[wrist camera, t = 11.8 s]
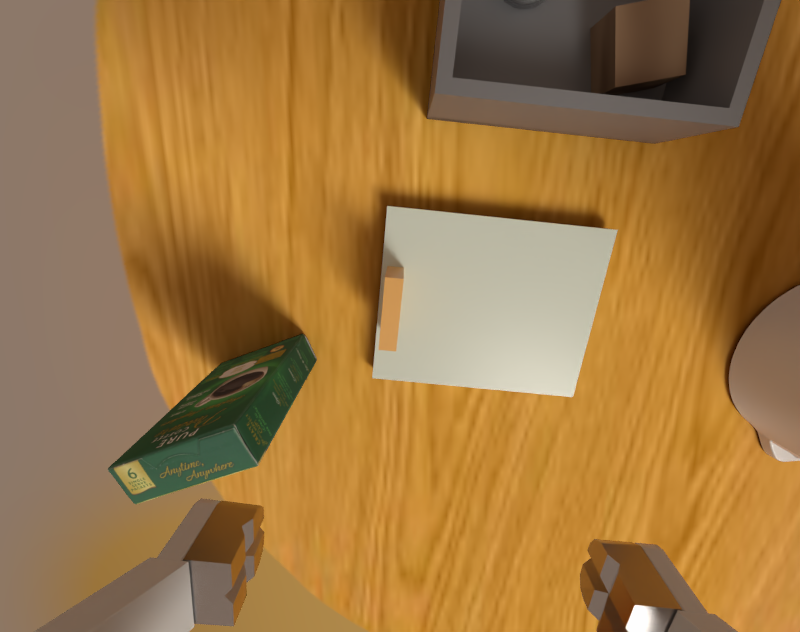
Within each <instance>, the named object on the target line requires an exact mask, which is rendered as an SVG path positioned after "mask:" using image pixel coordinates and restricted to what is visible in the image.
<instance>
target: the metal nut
mask: <svg viewBox="0 0 800 632" xmlns="http://www.w3.org/2000/svg"><path fill="white" fill-rule="evenodd" d="M504 1H505V2H506V3H507V4H508V5H510V6H512V7H514V8H517V9H530V8H533V7H536V6H538V5H539V4H541V3H542V2H544V1H545V0H504Z"/></svg>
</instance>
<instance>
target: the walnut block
mask: <svg viewBox="0 0 800 632" xmlns="http://www.w3.org/2000/svg"><path fill="white" fill-rule="evenodd" d="M689 8H690V0H645V1H640V2H635V3H630V4H625V5H620V6H615V7H614V8H613V9H612V10H611V11H610V12H609V13H607V14H606V15H605V16H604V17H603V18H602V19H601V20H600V21H598V22H597V23H596V24H595V25H594V26H593V27H592V28H591V29H590V39H591V93H597V94H606V95H619V94H624V93H630V92H635V91H641V90H646V89H652V88H655V87H657V86H660V85H662V84H665V83H667V82H669V81H672V80H674V79H676V78H679V77H681V76H683V75H686V63H687V44H688V26H689Z"/></svg>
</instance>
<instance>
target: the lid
mask: <svg viewBox="0 0 800 632" xmlns="http://www.w3.org/2000/svg"><path fill="white" fill-rule="evenodd" d="M616 234H617V230H614V229H607V228H597V227H588V226H578V225H569V224H559V223H549V222H540V221H530V220H521V219H511V218H502V217H492V216H482V215H473V214H463V213H454V212H444V211H434V210H425V209H415V208H406V207H396V206H387V214H386V226H385V237H384V249H383V261H382V272H381V284H380V295H379V307H378V318H377V330H376V341H375V353H374V365H373V376H372V378H377V379H387V380H398V381H408V382H419V383H430V384H440V385H451V386H461V387H472V388H482V389H493V390H503V391H514V392H525V393H535V394H546V395H556V396H567V397H573V395H574V391H575V387H576V383H577V380H578V376H579V372H580V368H581V365H582V361H583V357H584V353H585V350H586V346H587V342H588V339H589V335H590V331H591V327H592V324H593V320H594V316H595V312H596V309H597V305H598V301H599V298H600V294H601V290H602V286H603V283H604V279H605V275H606V271H607V268H608V264H609V260H610V256H611V253H612V249H613V245H614V242H615V238H616Z"/></svg>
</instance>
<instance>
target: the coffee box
mask: <svg viewBox="0 0 800 632" xmlns="http://www.w3.org/2000/svg"><path fill="white" fill-rule="evenodd" d="M316 361H317V358H316V356H315V354H314V352H313V350H312V348H311V345H310V343H309V341H308V339H307V337H305V335H304V334H301V335H298V336H296V337H293V338H290V339H286V340H284V341H281V342H279V343H276V344H274V345H271V346H268V347H265V348H262V349H260V350H257V351H254V352H251V353H248V354H246V355H243V356H240V357H237V358H235V359H232V360H229V361H226V362H223V363H221V364H220V365H219V366H218V367H217V368H215V369H214V370H213V371H212V372H211V373H210V374H209V375H208V376H207V377H206V378H205V379H203V380H202V381H201V382H200V383H199V384H198V385H197V386H196V387H195V388H194V389H193V390H192V391H190V392H189V393H188V394H187V395H186V396H185V397H184V398H183V399H182V400H181V401H180V402H179V403H178V404H177V405H176V406H175V407H174V408H172V409H171V410H170V411H169V412H168V413H167V414H166V415H165V416H164V417H163V418H162V419H161V420H160V421H159V422H158V423H156V424H155V425H154V426H153V427H152V428H151V429H150V430H149V431H148V432H147V433H146V434H145V435H144V436H142V437H141V438H140V439H139V440H138V441H137V442H136V443H135V444H134V445H133V446H132V447H131V448H130V449H129V450H127V451H126V452H125V453H124V454H123V455H122V456H121V457H120V458H119V459H118V460H117V461H115V462H114V463H113V464H112V465H111V466H110V467H109V468H108V470H109V472H110V473H111V474H112V475H113V477H114V478H115V479H116V481H117V482H118V483H119V485H120V486H121V487H122V489H123V490H124V491H125V493H126V494H127V495H128V497H129V498H130V499H131V500H132V501H133V503H135V504H138V503H142V502H145V501H148V500H151V499H154V498H157V497H160V496H163V495H166V494H170V493H173V492H176V491H180V490H183V489H186V488H190V487H193V486H196V485H199V484H202V483H205V482H209V481H212V480H215V479H218V478H221V477H225V476H228V475H231V474H234V473H237V472H240V471H243V470H247V469H250V468H253V467H256V466H258V465H259V463H260V462H261V460H262V458H263V456H264V454H265V453H266V451H267V449H268V447H269V445H270V443H271V441H272V440H273V438H274V436H275V434H276V432H277V430H278V429H279V427H280V425H281V423H282V422H283V420H284V418H285V416H286V414H287V412H288V411H289V409H290V407H291V405H292V404H293V402H294V400H295V398H296V396H297V395H298V393H299V391H300V389H301V388H302V386H303V384H304V382H305V380H306V379H307V377H308V375H309V373H310V371H311V370H312V368H313V366H314V364H315V363H316Z"/></svg>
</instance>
